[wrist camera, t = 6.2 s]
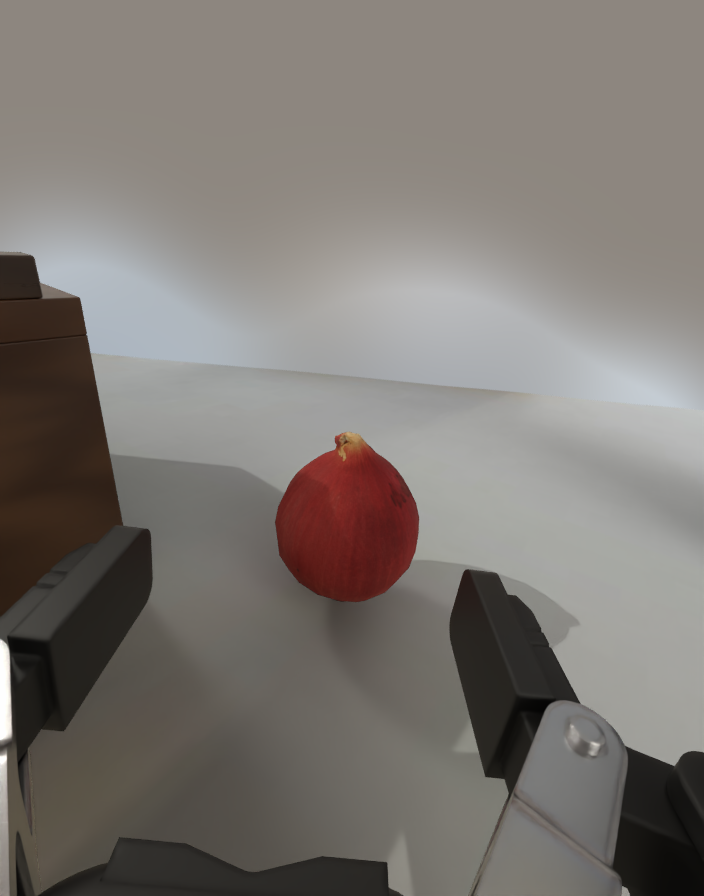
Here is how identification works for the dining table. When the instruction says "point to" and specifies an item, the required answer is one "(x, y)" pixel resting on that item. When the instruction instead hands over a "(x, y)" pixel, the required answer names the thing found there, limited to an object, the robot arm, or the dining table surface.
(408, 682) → the dining table surface
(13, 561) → the shelf stand
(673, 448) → the dining table surface
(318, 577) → the onion
